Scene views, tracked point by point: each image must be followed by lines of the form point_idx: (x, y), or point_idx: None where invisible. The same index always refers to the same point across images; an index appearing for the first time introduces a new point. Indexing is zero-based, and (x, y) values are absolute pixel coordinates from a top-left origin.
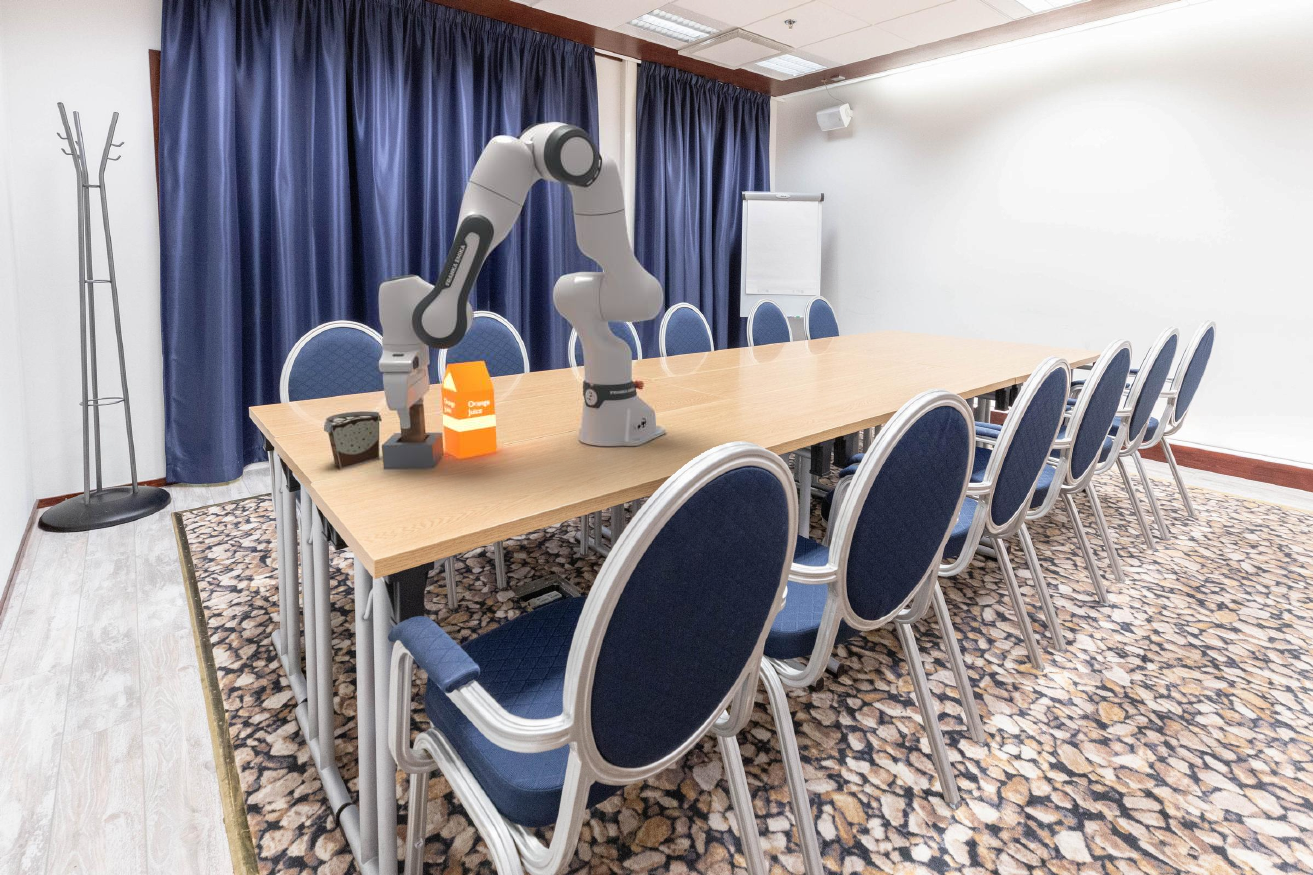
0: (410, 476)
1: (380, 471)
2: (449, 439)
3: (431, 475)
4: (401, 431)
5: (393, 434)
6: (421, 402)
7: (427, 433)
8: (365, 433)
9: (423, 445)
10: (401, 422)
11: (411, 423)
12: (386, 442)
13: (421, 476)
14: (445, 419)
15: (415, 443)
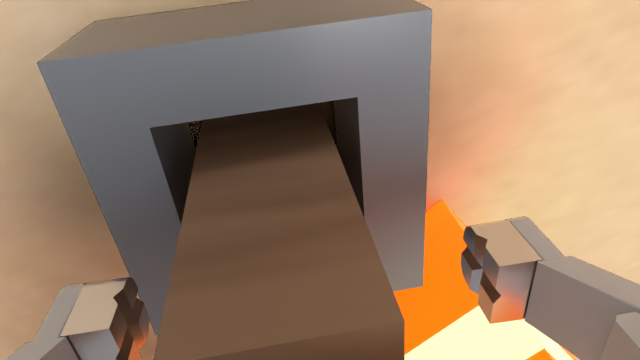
0: (22, 203)
1: (45, 20)
2: (423, 276)
3: (69, 273)
4: (186, 200)
5: (385, 17)
6: (586, 353)
7: (405, 227)
8: None
9: (141, 297)
10: (45, 328)
11: (141, 345)
12: (131, 65)
13: (41, 244)
14: (495, 341)
15: (156, 255)
